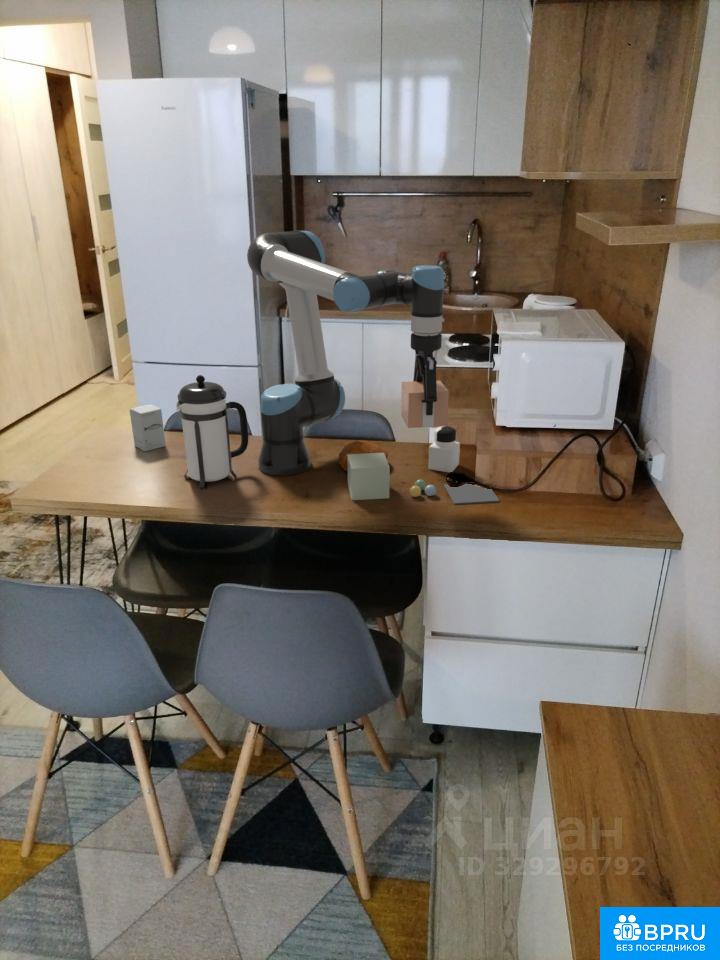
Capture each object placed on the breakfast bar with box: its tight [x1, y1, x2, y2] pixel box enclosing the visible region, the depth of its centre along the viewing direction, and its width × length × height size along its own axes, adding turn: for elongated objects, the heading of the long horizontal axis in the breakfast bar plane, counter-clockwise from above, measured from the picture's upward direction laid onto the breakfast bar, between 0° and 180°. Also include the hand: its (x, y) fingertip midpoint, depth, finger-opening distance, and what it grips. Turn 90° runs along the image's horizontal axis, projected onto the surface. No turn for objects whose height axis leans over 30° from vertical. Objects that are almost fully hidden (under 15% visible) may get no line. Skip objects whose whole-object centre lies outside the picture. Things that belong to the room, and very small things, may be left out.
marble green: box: [414, 478, 427, 491], centre depth 186 cm, size 3×3×3 cm
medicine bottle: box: [428, 425, 461, 474], centre depth 199 cm, size 7×7×12 cm
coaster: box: [443, 482, 500, 505], centre depth 185 cm, size 12×12×1 cm
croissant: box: [338, 440, 389, 473], centre depth 202 cm, size 14×16×8 cm
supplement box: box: [129, 403, 167, 453], centre depth 216 cm, size 7×7×13 cm
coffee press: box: [175, 374, 249, 490], centre depth 190 cm, size 17×16×30 cm
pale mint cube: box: [347, 453, 391, 501], centre depth 185 cm, size 10×10×9 cm
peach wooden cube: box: [400, 379, 450, 429], centre depth 175 cm, size 10×10×9 cm
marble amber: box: [409, 485, 422, 498], centre depth 183 cm, size 3×3×3 cm
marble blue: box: [424, 484, 437, 497], centre depth 183 cm, size 3×3×3 cm
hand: (423, 419), depth 177 cm, fingers closed on peach wooden cube, 10 cm apart
